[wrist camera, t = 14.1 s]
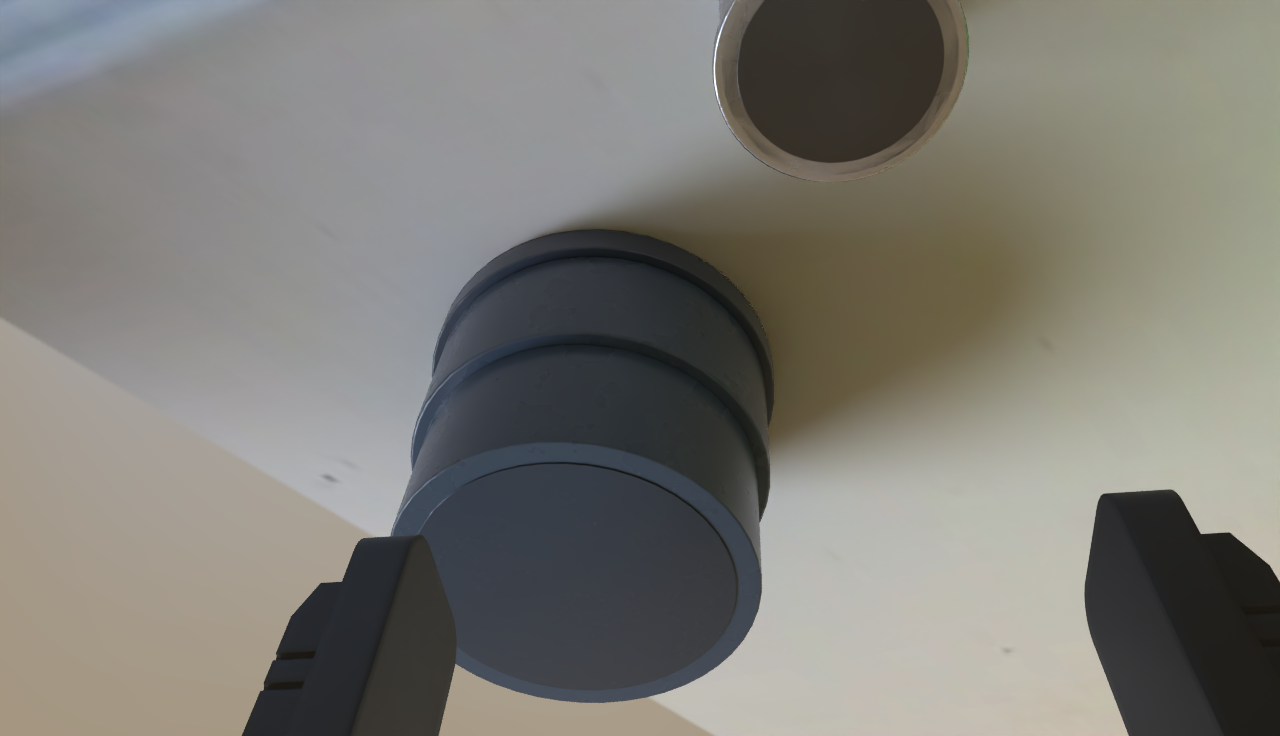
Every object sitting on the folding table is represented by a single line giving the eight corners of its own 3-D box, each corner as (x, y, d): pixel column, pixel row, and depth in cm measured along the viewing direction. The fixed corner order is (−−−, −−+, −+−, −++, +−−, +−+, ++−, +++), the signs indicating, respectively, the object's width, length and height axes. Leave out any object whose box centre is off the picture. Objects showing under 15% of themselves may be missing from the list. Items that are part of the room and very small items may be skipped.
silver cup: (723, 88, 31) (724, 195, 26) (704, -117, 28) (700, -47, 22) (919, 67, 31) (965, 172, 25) (922, -147, 27) (976, -82, 22)
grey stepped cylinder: (480, 509, 42) (422, 724, 34) (400, 246, 35) (304, 437, 27) (782, 491, 41) (797, 712, 32) (760, 212, 34) (773, 405, 26)
